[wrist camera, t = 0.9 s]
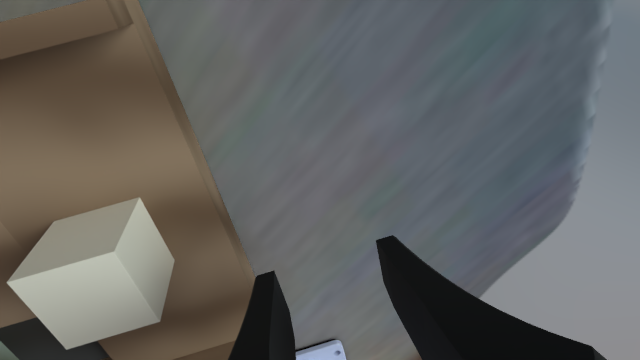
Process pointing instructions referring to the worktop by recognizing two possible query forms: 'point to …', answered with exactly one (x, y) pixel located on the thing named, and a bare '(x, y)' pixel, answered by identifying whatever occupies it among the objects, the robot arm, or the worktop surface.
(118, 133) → the box
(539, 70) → the worktop surface
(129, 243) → the cream cube
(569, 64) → the worktop surface
